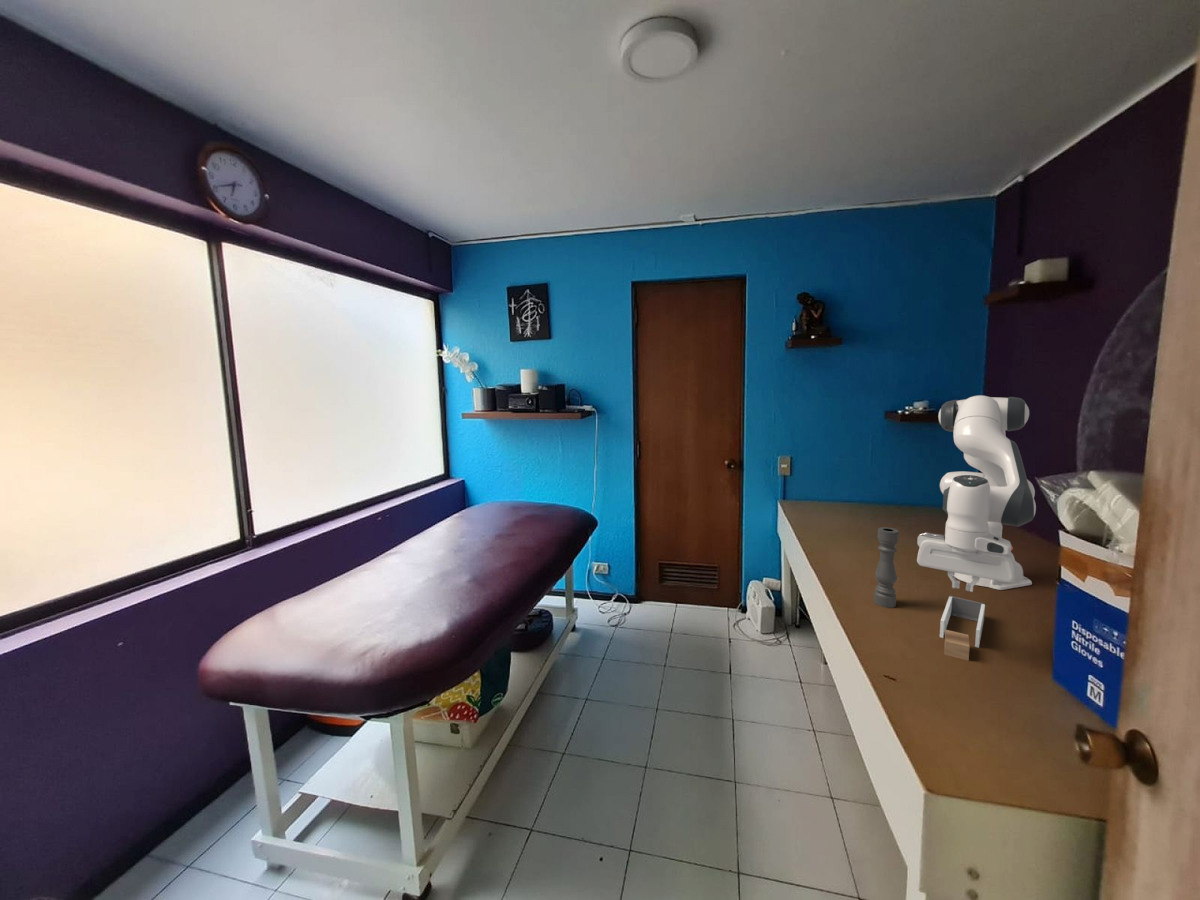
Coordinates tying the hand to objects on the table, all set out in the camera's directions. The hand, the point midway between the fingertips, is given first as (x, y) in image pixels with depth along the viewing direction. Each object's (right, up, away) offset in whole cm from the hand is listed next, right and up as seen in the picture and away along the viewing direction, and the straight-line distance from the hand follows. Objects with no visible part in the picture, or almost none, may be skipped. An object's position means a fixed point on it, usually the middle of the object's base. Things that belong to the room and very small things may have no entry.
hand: (962, 589), depth 120 cm
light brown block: (0, -18, +3) cm, 18 cm away
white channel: (+11, -16, +14) cm, 24 cm away
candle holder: (-2, -14, +30) cm, 34 cm away
